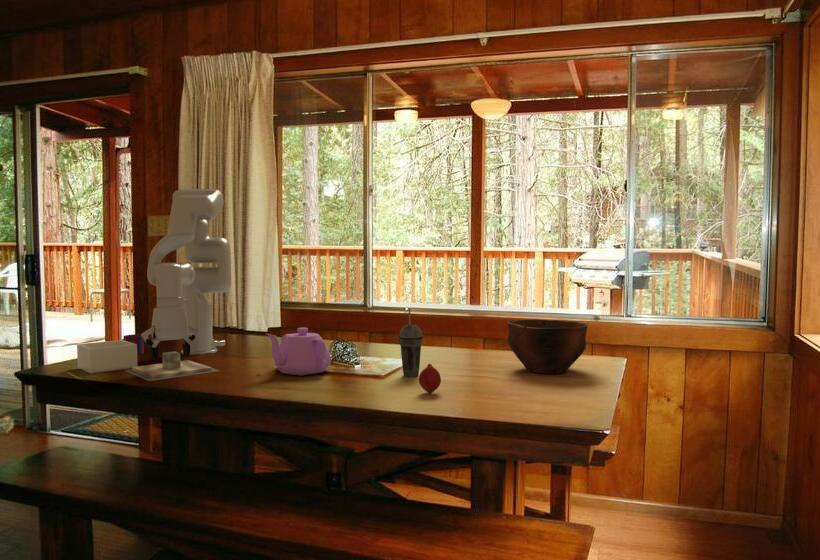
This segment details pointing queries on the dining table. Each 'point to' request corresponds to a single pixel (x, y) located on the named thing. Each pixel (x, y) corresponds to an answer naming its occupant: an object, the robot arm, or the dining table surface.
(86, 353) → the basin
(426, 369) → the onion
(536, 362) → the bowl
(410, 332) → the beverage cup
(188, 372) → the lid
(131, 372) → the mat
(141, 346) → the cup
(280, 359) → the teapot
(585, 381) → the dining table surface
